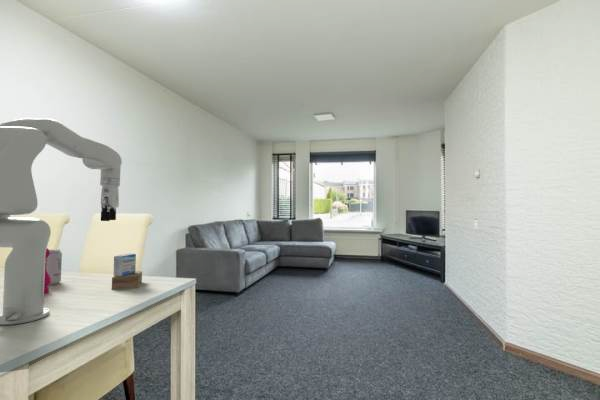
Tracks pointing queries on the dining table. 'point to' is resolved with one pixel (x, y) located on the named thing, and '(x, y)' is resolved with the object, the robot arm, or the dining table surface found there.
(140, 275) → the walnut plinth
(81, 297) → the dining table surface
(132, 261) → the medicine box
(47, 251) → the pepper mill
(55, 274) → the grey upright box
